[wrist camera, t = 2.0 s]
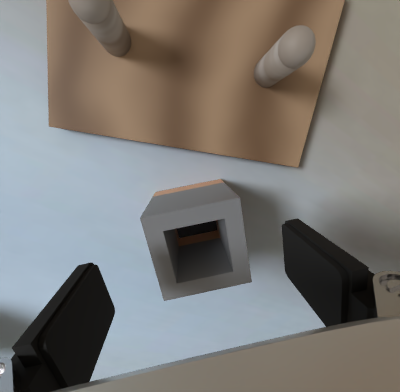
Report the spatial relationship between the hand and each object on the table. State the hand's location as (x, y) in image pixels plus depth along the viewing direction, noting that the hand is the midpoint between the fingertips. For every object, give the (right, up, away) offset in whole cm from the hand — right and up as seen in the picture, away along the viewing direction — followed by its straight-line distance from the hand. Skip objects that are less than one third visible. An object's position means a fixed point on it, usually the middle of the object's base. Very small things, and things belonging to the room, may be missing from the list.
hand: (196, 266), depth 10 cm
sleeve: (0, +2, +9) cm, 9 cm away
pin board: (0, +14, +6) cm, 15 cm away
